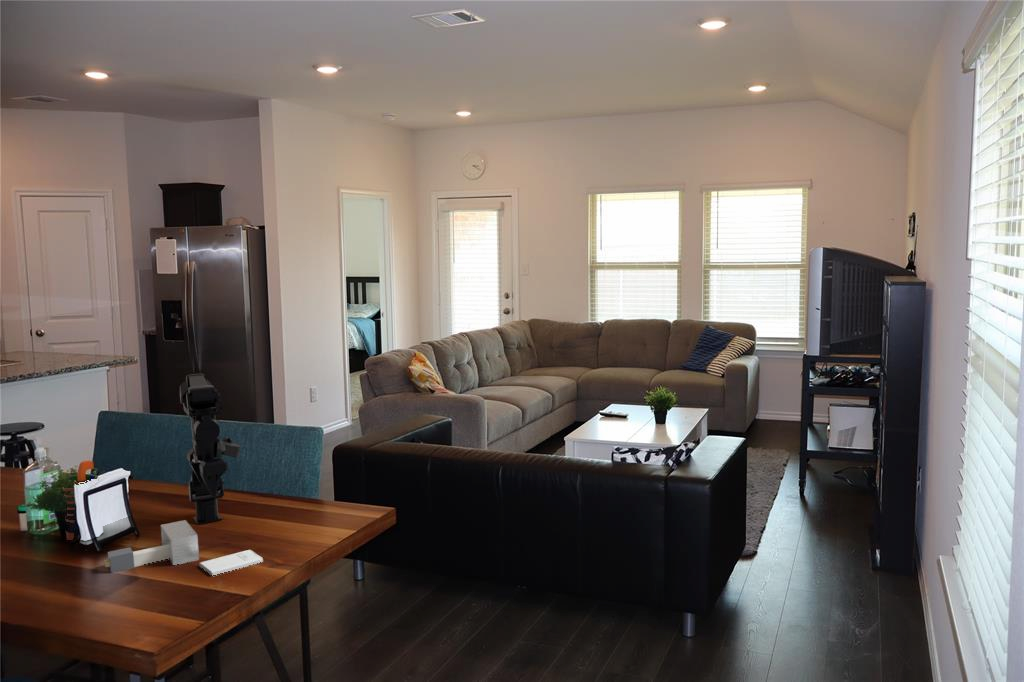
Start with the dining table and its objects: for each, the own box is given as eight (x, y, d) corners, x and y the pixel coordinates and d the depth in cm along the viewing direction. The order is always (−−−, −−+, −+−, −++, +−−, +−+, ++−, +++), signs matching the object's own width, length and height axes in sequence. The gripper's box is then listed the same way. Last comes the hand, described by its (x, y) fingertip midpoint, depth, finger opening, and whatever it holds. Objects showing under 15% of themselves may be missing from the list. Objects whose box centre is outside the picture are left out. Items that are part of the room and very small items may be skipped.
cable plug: (189, 550, 205) (188, 535, 205) (193, 554, 202) (191, 539, 202) (104, 568, 195) (103, 553, 194) (106, 574, 191) (105, 558, 191)
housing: (162, 549, 206) (160, 525, 205) (187, 544, 209) (185, 520, 208) (173, 565, 195) (171, 539, 194) (199, 559, 199) (197, 534, 198)
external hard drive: (199, 568, 194) (249, 554, 203) (212, 578, 188) (263, 563, 196) (199, 562, 194) (249, 548, 202) (211, 572, 188) (262, 557, 196)
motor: (57, 538, 216) (50, 465, 214) (88, 527, 224) (81, 457, 222) (81, 543, 212) (74, 469, 209) (112, 532, 219) (105, 460, 217)
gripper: (246, 436, 208) (250, 494, 210) (227, 423, 224) (231, 478, 226) (201, 443, 202) (205, 503, 204) (184, 429, 218) (189, 485, 220)
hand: (209, 491), depth 214 cm, fingers open, 9 cm apart
